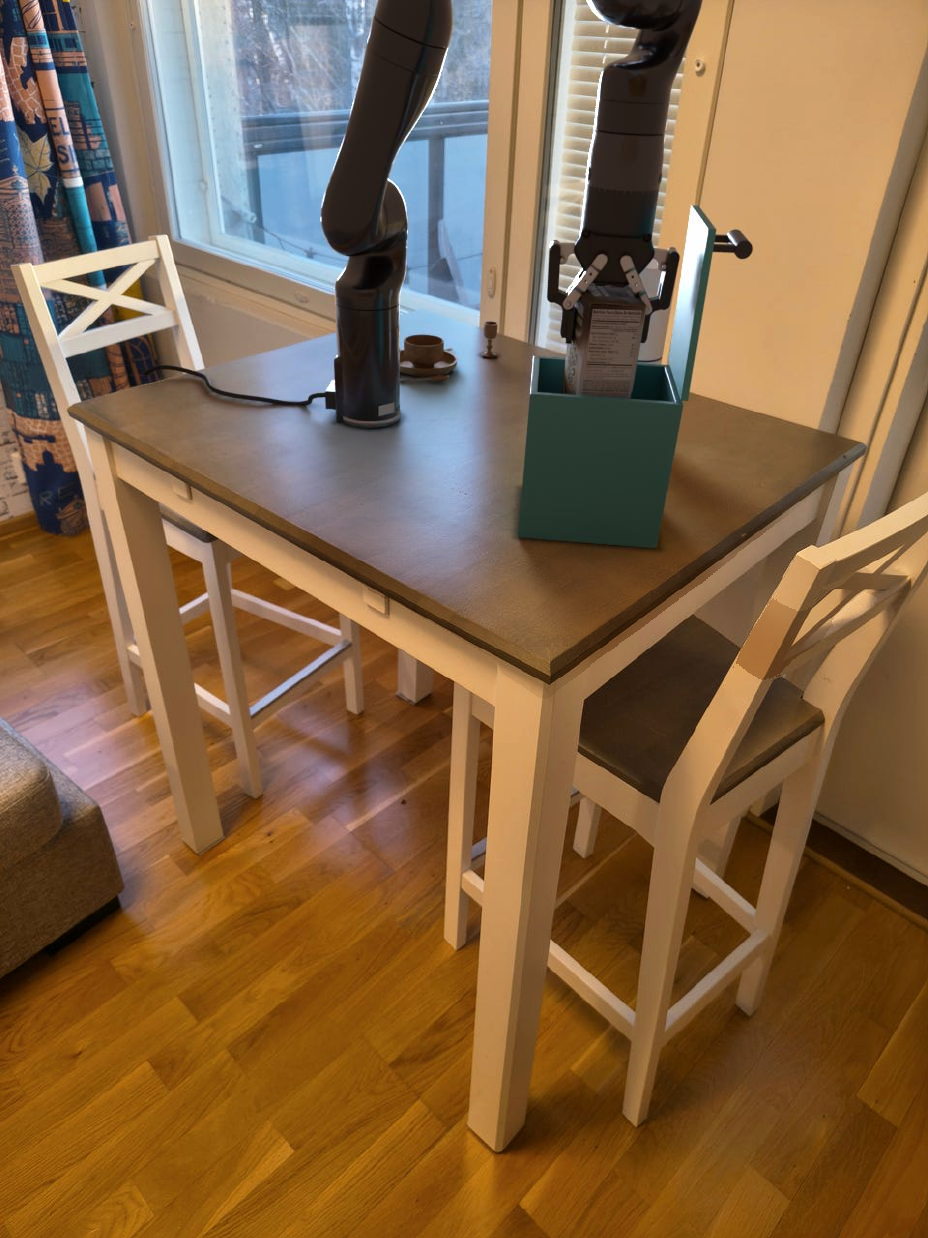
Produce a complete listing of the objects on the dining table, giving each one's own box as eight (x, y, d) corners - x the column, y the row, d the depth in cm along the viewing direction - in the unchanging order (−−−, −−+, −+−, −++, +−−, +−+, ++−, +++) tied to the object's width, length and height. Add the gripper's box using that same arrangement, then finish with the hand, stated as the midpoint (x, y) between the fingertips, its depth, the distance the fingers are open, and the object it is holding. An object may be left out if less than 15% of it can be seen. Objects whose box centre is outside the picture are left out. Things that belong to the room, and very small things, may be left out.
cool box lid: (708, 228, 86) (765, 231, 85) (691, 205, 97) (741, 206, 97) (680, 400, 95) (731, 403, 95) (668, 360, 107) (713, 363, 106)
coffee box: (557, 416, 109) (572, 279, 100) (608, 416, 109) (628, 280, 100) (570, 446, 101) (588, 301, 92) (625, 446, 102) (648, 302, 93)
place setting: (387, 351, 163) (387, 318, 160) (495, 352, 165) (497, 320, 162) (391, 384, 149) (391, 348, 145) (509, 384, 151) (511, 349, 148)
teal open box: (517, 537, 106) (530, 393, 96) (521, 488, 118) (533, 355, 108) (656, 548, 106) (683, 404, 96) (647, 498, 117) (670, 364, 107)
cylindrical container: (647, 448, 131) (678, 270, 117) (599, 442, 132) (623, 265, 118) (649, 430, 136) (678, 259, 122) (602, 425, 137) (626, 254, 123)
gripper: (689, 180, 93) (662, 338, 102) (552, 172, 94) (538, 330, 103) (698, 191, 87) (669, 359, 96) (552, 182, 88) (537, 349, 97)
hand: (601, 343), depth 100 cm, fingers closed on coffee box, 7 cm apart
